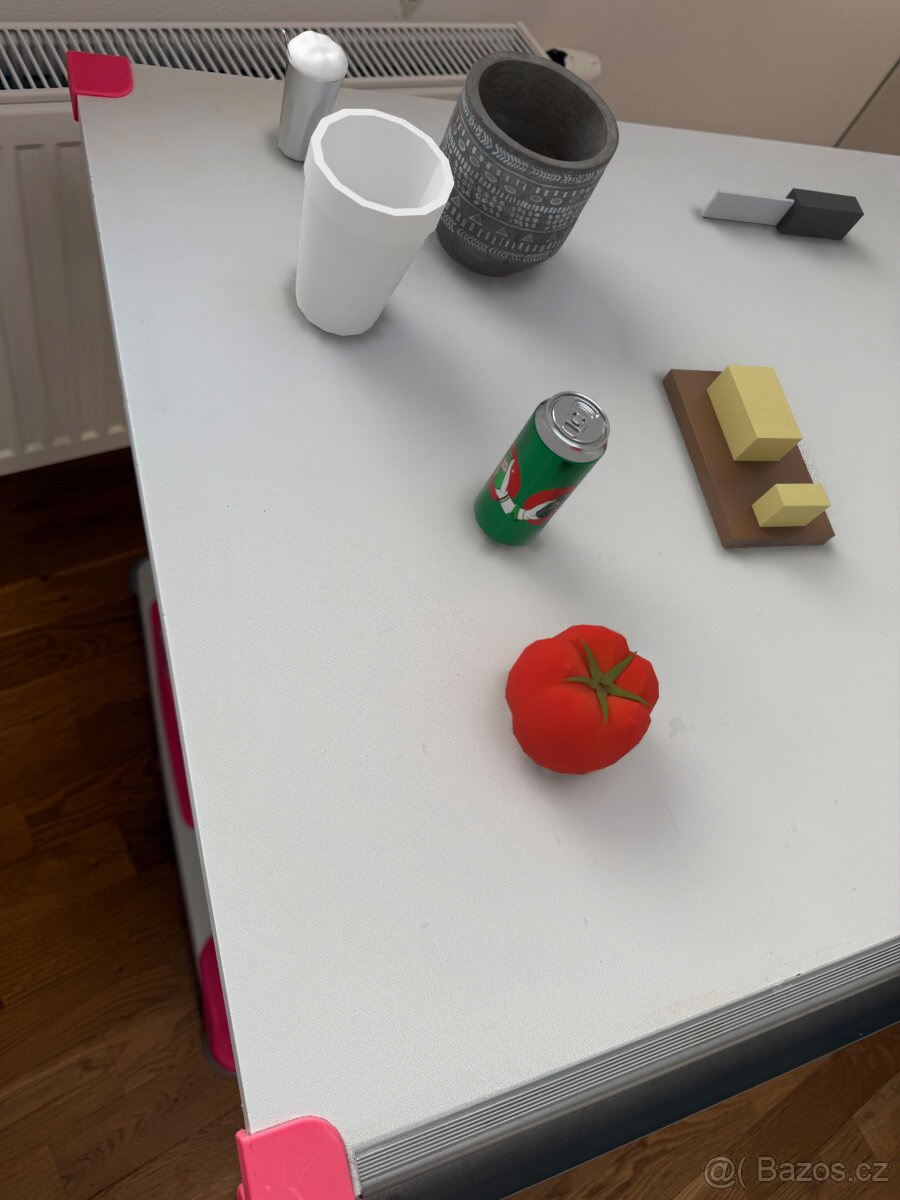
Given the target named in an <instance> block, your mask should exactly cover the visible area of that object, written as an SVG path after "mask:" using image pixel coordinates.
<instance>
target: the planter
mask: <svg viewBox="0 0 900 1200" xmlns="http://www.w3.org/2000/svg"><path fill="white" fill-rule="evenodd" d="M619 141H620V131H619V126H618V123H617V120H616V118H615V116H614V113H613V112H612V110H611V109H610V107H609V105H608V104H607V103H606V101H605V100H604V99H603V98H602V97H601V96H600V94H598V92H596V90H595V89H594V88H593V87H592V86H591V85H589V84H588V82H586V81H585V80H583V79H582V78H581V77H579V76H578V75H577V74H575V72H572V71H571V70H570V69H568V68H566V67H565V66H564V65H561V64H560V63H559V62H556V61H554V60H551V59H549V58H546V57H543V56H540V55H537V54H533V53H529V52H524V51H516V50H499V51H493V52H490V53H487V54H486V55H483V56H482V57H480V58H479V59H477V60H476V61H475V62H474V63H473V64H472V65H471V67H470V68H469V71H468V73H467V75H466V77H465V80H464V84H463V86H462V88H461V91H460V93H459V96H458V97H457V100H456V103H455V105H454V108H453V110H452V112H451V115H450V118H449V120H448V123H447V126H446V128H445V131H444V134H443V137H442V140H441V142H440V144H439V146H438V147H439V149H440V150H441V151H442V152H443V154H444V155H445V156H446V157H447V159H448V160H449V164H450V168H451V172H452V176H453V180H454V185H453V188H452V190H451V193H450V195H449V198H448V200H447V203H446V205H445V207H444V210H443V212H442V215H441V217H440V219H439V222H438V224H437V227H436V229H435V232H436V236H437V239H438V240H439V242H440V244H441V246H442V248H443V249H444V250H445V251H446V253H447V254H448V255H449V256H450V257H451V258H452V259H453V260H455V261H456V262H457V263H458V264H459V265H461V266H462V267H464V268H466V269H467V270H470V271H472V272H474V273H477V274H479V275H481V276H482V275H483V276H487V277H493V278H497V277H498V278H503V277H509V276H512V275H515V274H519V273H521V272H524V271H527V270H528V269H531V268H533V267H536V266H538V265H541V264H542V263H543V262H545V261H547V260H549V259H551V258H552V257H554V256H556V254H557V253H558V252H559V251H560V250H561V248H562V247H563V245H564V244H565V242H566V241H567V239H568V237H569V236H570V234H571V232H572V230H573V229H574V227H575V225H576V223H577V221H578V219H579V218H580V215H581V213H582V212H583V210H584V209H585V207H586V204H588V202H589V200H590V198H591V196H592V195H593V193H594V192H595V190H596V187H597V186H598V185H599V182H600V180H601V179H602V177H603V175H604V173H605V171H606V169H607V167H608V166H609V164H610V163H611V160H612V159H613V157H614V155H615V154H616V151H617V149H618V146H619Z"/></svg>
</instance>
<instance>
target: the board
mask: <svg viewBox="0 0 900 1200" xmlns="http://www.w3.org/2000/svg"><path fill="white" fill-rule="evenodd" d="M722 372H723V370H722V371H721V370H699V369H684V368H683V369H681V368H679V369H678V368H670V370H669V371H668V372H667V374H666V375H664V377H663V378H662V381H661V382H662V384H663V387H664V389H665V392H666V395H667V398H668V400H669V403H670V405H671V408H672V411H673V414H674V416H675V419H676V422H677V424H678V427H679V431H680V433H681V437H682V439H683V441H684V444H685V446H686V449H687V452H688V455H689V457H690V461H691V463H692V466H693V469H694V471H695V474H696V477H697V479H698V483H699V484H700V488H701V490H702V493H703V496H704V498H705V501H706V504H707V506H708V510H709V512H710V515H711V518H712V521H713V523H714V526H715V528H716V532H717V533H718V537H719V540H720V542H721V545H722V548H723V549H738V548H740V549H741V548H761V547H762V548H763V547H765V548H766V547H787V546H788V547H789V546H812V545H813V546H815V545H816V546H817V545H825V544H826V543H827V542H828V541H830V540H831V539H833V538H834V537H835V536H836V533H835V531H834V529H833V526H832V524H831V522H830V519H829V517H828V514H827V511H826V510H825V511H823V512H822V513H821V514H820V515H818V516H817V517H816V518H814V519H813V520H812V521H811V522H809V523H808V524H807V525H806V526H789V527H760V526H759V524H758V521H757V518H756V516H755V513H754V511H753V508H752V505H753V504H754V503H755V502H756V501H757V500H758V499H760V498H761V497H762V496H763V495H764V494H765V493H766V492H768V491H769V490H770V489H771V488H772V487H773V486H774V485H775V484H815V483H814V481H813V478H812V476H811V474H810V473H811V472H810V471H809V468H808V466H807V464H806V462H805V459H804V457H803V455H802V452H801V450H800V447H799V445H798V444H796V445H795V446H794V447H793V448H792V449H791V450H790V451H789V452H788V453H787V454H786V455H784V456H783V457H782V458H781V459H780V460H779V461H734V459H733V457H732V454H731V452H730V449H729V446H728V444H727V441H726V439H725V436H724V434H723V431H722V428H721V426H720V423H719V421H718V418H717V415H716V413H715V410H714V408H713V405H712V402H711V400H710V397H709V395H708V392H707V388H708V387H709V386H710V385H711V384H712V383H713V382H714V381H715V379H716V378H717V377H718V376H719V375H720V374H721V373H722Z"/></svg>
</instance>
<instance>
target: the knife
mask: <svg viewBox="0 0 900 1200" xmlns="http://www.w3.org/2000/svg"><path fill="white" fill-rule="evenodd" d="M700 216H701V217H703V218H711V219H719V220H728V221H734V222H735V221H736V222H745V223H752V224H760V225H768V226H776V229H777V230H778V232H779V234H782V235H783V234H784V235H792V236H793V235H794V236H800V237H809V238H818V239H824V240H825V239H826V240H833V241H834V240H835V241H843V239H844V238H845V237H846V236H847V235H848V233H849V232H850V231H851V230H852V229H853V228H854V227H855V226H856V224H857V223H858V222H859V221H860V220H861V219H862V218H863V216H865V212H864V211H863V209H862V207H861V205H860V203H859V200H858V199H857V197H856V196H853V195H848V194H847V195H846V194H840V193H839V194H838V193H833V192H824V191H818V190H811V189H804V188H797V187H793V188H792V189H791V190H790V191H789V193H788V194H787V195H786V197H778V196H771V195H770V196H769V195H764V194H757V193H756V194H755V193H750V192H749V193H748V192H742V191H736V190H735V191H734V190H727V189H717V190H716V192H715V193H714V195H713V196H712V197H711V199H710V200H709V201H708V203H707V204H706V206H705V207H704V209H703V210H702V212H701V213H700Z"/></svg>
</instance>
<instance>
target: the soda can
mask: <svg viewBox="0 0 900 1200" xmlns="http://www.w3.org/2000/svg"><path fill="white" fill-rule="evenodd" d="M610 434H611V425H610V420H609V418H608V415H607V414H606V412H605V411H604V409H603V408H602V407H601V405H600V404H598V403H597V402H596V401H595V400H594V399H592V398H591V397H589V396H588V395H585V394H583V393H581V392H577V391H572V390H564V391H559V392H557V393H555V394H553V395H552V396H551V397H548V398H545V399H544V400H542V401H541V402H540V403H538V405H537V406H536V408H535V409H534V410H533V411H532V414H531V415H530V417H529V418H528V419H527V421H526V423H525V424H524V426H523V427H522V428H521V430H520V432H519V433H518V435H517V436H516V437H515V439H514V440H513V442H512V443H511V445H510V446H509V448H508V449H507V450H506V452H505V454H504V455H503V457H502V459H500V461H499V463H498V464H497V466H496V467H495V469H494V470H493V472H492V473H491V475H490V476H489V478H488V479H487V480H486V482H485V484H484V485H483V487H482V488H481V490H480V491H479V493H478V495H477V496H476V498H475V501H474V506H473V513H474V517H475V520H476V522H477V524H478V526H479V527H480V529H481V531H482V532H483V533H484V534H485V536H487V537H488V538H489V539H491V540H492V541H494V542H495V543H498V544H501V545H503V546H507V547H522V546H526V545H529V544H530V543H532V542H533V541H534V540H535V539H536V538H537V536H538V535H539V534H540V533H541V532H542V530H543V529H544V528H545V527H546V526H547V524H548V523H549V522H550V521H551V519H552V518H553V517H554V516H555V515H556V513H557V512H558V511H559V510H560V509H561V507H562V506H563V505H564V504H565V502H566V501H568V499H569V497H571V495H572V494H573V493H574V491H575V490H576V489H577V488H578V487H579V485H580V484H581V483H582V482H583V480H584V479H585V478H586V477H587V476H588V474H589V473H590V472H591V471H592V469H593V468H594V467H595V466H596V465H597V463H598V462H599V461H600V460H601V459H602V457H603V456H604V455H605V453H606V451H607V448H608V440H609V437H610Z"/></svg>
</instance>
